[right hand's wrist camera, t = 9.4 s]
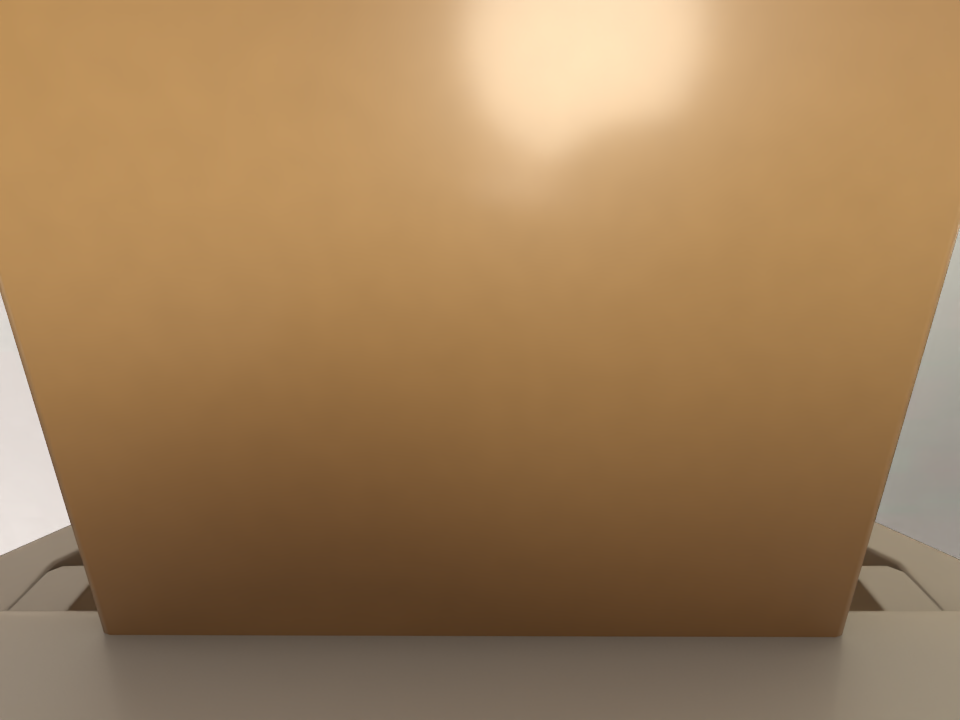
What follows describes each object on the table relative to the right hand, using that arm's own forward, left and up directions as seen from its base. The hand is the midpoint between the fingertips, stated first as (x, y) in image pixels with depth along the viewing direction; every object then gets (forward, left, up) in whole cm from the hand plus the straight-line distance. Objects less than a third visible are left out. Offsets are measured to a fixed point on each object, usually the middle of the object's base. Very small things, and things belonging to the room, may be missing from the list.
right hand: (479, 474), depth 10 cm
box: (+8, 0, -7) cm, 11 cm away
